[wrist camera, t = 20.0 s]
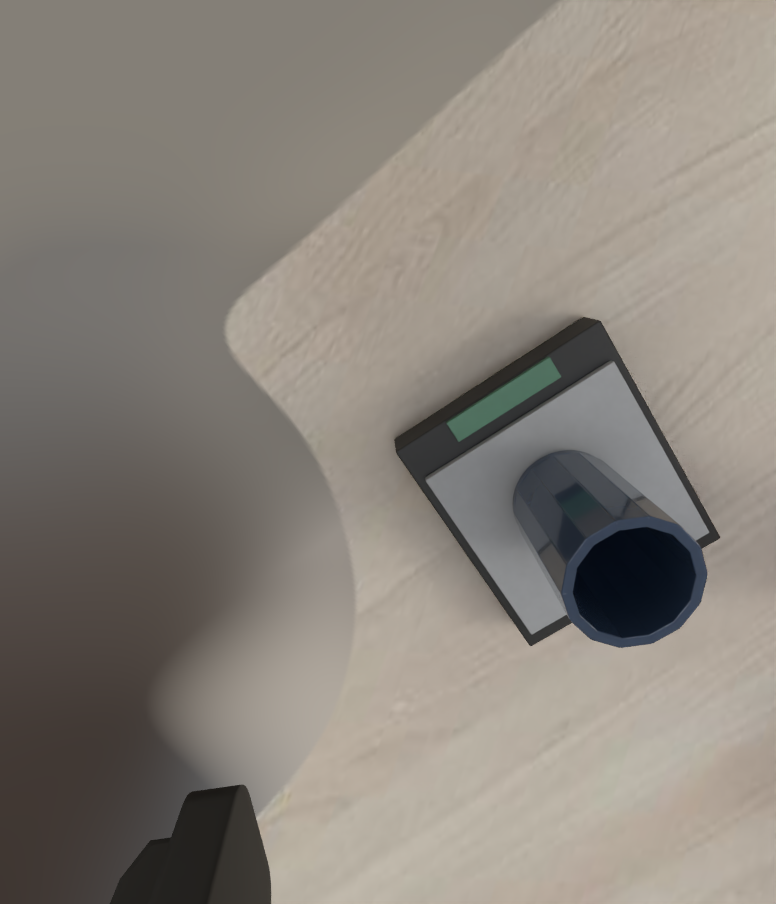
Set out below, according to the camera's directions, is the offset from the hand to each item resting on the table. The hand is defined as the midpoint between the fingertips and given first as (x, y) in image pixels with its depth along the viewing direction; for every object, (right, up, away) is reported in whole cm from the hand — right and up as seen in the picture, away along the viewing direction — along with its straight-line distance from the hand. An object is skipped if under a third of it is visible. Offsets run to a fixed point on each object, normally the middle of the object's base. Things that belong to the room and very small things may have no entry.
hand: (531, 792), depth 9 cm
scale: (+7, +3, +26) cm, 28 cm away
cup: (+7, +2, +24) cm, 25 cm away
